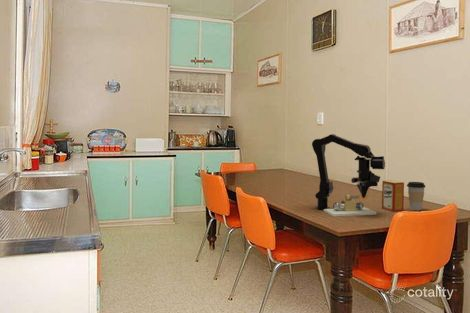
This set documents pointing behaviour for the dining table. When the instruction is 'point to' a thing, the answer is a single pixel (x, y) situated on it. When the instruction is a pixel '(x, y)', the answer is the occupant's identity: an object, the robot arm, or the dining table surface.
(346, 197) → the lever
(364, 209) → the board
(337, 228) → the dining table surface
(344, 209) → the valve
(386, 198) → the baking soda box
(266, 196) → the dining table surface
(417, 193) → the coffee cup
